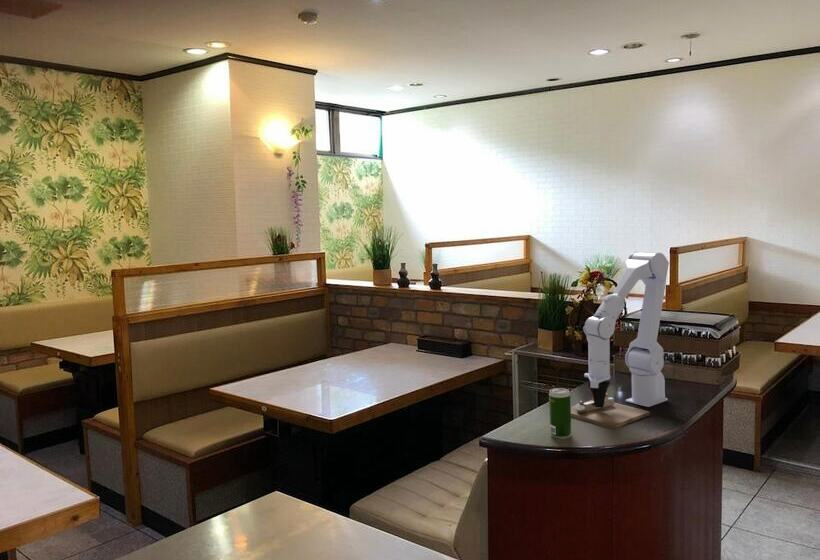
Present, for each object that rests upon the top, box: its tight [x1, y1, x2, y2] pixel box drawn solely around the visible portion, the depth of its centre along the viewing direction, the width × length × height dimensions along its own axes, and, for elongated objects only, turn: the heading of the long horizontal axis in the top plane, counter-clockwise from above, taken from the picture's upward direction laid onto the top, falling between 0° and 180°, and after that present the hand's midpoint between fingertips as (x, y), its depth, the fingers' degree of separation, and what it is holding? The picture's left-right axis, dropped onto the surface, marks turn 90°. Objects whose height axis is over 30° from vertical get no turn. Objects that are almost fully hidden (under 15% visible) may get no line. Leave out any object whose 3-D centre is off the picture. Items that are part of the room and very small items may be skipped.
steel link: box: [575, 397, 615, 413], centre depth 185 cm, size 12×3×3 cm, turn 113°
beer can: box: [548, 387, 572, 440], centre depth 169 cm, size 5×5×12 cm
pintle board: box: [571, 392, 651, 430], centre depth 184 cm, size 16×18×4 cm
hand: (599, 406), depth 184 cm, fingers closed, pressing on steel link
